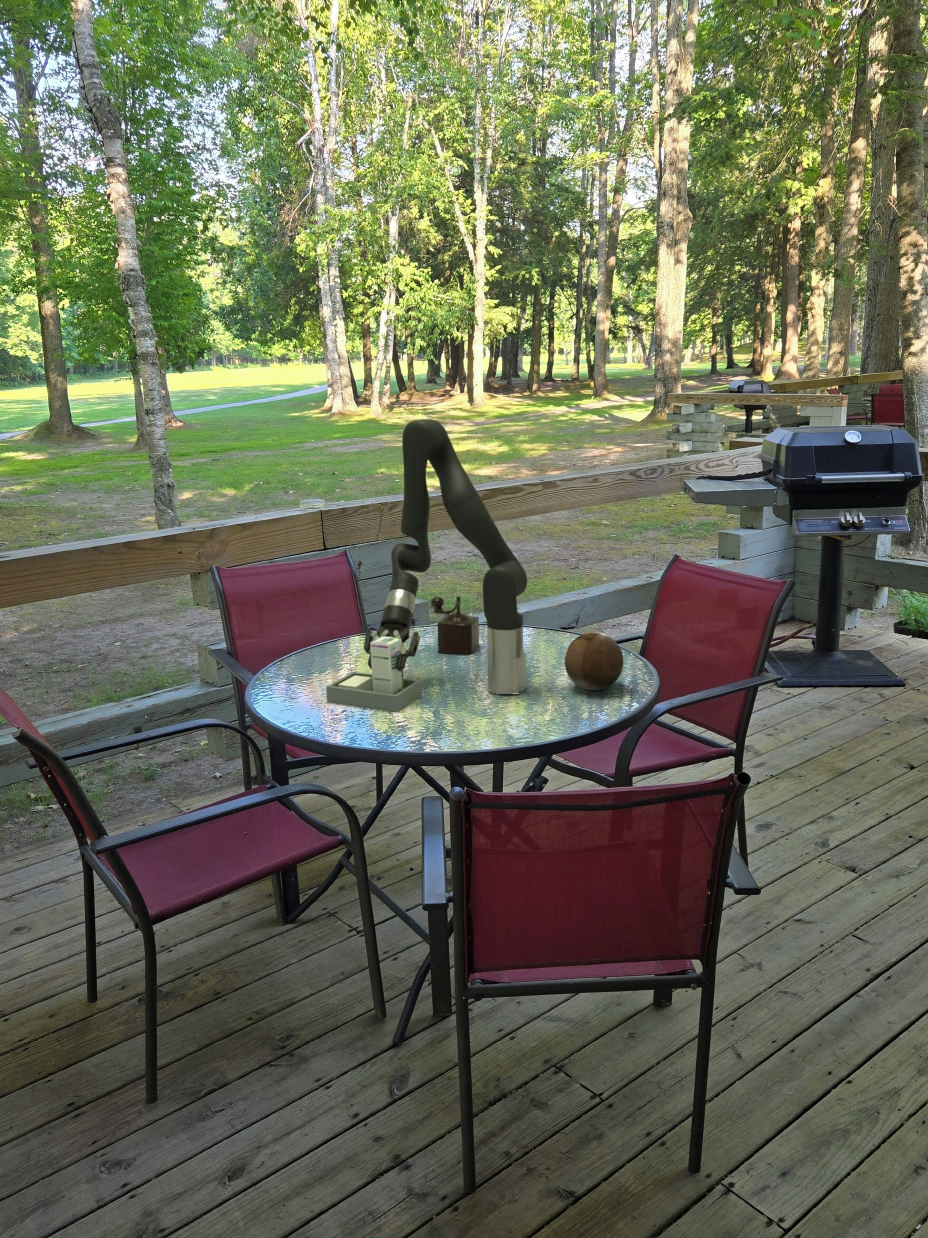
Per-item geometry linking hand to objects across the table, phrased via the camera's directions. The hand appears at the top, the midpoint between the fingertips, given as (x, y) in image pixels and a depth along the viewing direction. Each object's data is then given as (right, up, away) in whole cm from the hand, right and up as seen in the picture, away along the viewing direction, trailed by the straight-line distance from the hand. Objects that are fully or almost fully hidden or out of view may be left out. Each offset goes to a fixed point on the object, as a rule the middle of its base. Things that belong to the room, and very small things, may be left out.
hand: (385, 668), depth 222 cm
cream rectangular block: (-8, -7, +7) cm, 13 cm away
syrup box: (0, -7, +3) cm, 8 cm away
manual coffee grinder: (+17, +2, +48) cm, 51 cm away
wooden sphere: (+53, -6, +12) cm, 55 cm away
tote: (-3, -9, +5) cm, 11 cm away
